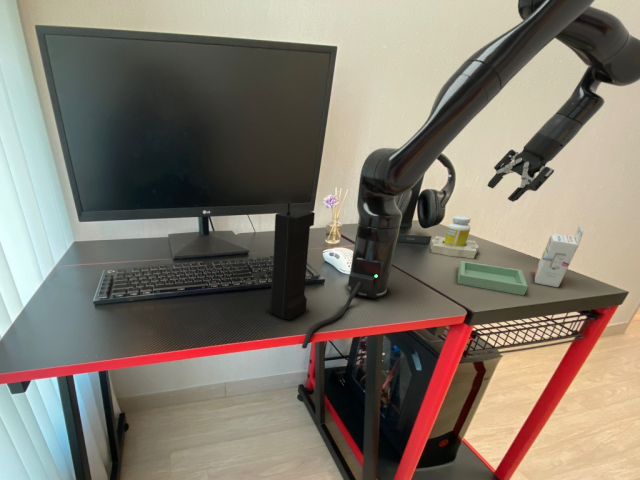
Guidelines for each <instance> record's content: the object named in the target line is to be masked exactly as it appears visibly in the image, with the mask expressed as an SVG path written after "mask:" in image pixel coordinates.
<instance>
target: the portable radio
mask: <svg viewBox="0 0 640 480" xmlns="http://www.w3.org/2000/svg"><path fill="white" fill-rule="evenodd" d="M286 204H287V210H285V211H281V212H277V213H275V215H274V216H275V217H274V238H273V239H274V240H273V241H274V242H273V258H272V259H273V261H272V270H271V283H270V284H271V287H270V298H269V307H268V308H269V313H270V314H272V315H275V316H276V317H279V318H281V319H284V320H288V321H291V320H293V319H294V318H296V317H298V316H299V315H301V314H302V313H304V312H305V311H306V310H307V303H308V302H307V301H308V299H307V297H306V295H305V290H306V289H305V288H306V277H307V265H308V255H309V243H310V242H309V241H310V230H311V227H312V226H314V225H315V215H316V213H315V212H314V211H312V210H308V209H302V208H296V207H295V208H293V209H290V206H291V201H287V202H286Z"/></svg>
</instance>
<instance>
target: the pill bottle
mask: <svg viewBox="0 0 640 480" xmlns="http://www.w3.org/2000/svg"><path fill="white" fill-rule="evenodd" d="M470 222H471V217H468V216H463V215H455V216H453V218H452V223H449V225H448V226H447V230H446V233H445V236H444V237H445V240H444V244H447V245H451V246H459V247H463V246H465V244H466V241H467V240H468V239H469V238H468V237H469V234H470V231H471V226H470V225H469V224H470Z"/></svg>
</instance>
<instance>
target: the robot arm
mask: <svg viewBox="0 0 640 480" xmlns="http://www.w3.org/2000/svg"><path fill="white" fill-rule="evenodd" d="M595 1H596V0H518V1H517V13H518V15H519V18H520V19H521V20H522V21H520V22H519V23H518V24H516V25H515V26H513V27H512V28H510V29H509V30H506V31H505V32H504V33H502V34H501V35H499V36H498V37H496V38H494V39H493V40H491V41H489V42H488V43H486V44H485V45H483V46H482V47H480V48H479V49H478V50H477V51H475V52H474V53H472V54H471V55H470V56H469V57H468V58H466V60H465V61H463V63H462V64H461V65H460V66H459V67H458V68H457V69H456V70H455V71H454V72H453V73H452V74H451V76H450V77H449V78H448V79H447V80H446V82H444V84H443V85H442V86H441V88H439V90H438V92H437V94H436V96H435V99H434V101H433V104H432V106H431V109H430V112H429V115H428V117H427V119H426V120H425V122H424V123H423V125H422V126H421V127H419V129H418V130H417V131H416V132H415V134H413V136H411V137H410V139H408V140H407V141H406V142H405V143H404V144H402V145H401V146H400V147H398V148H396V147H380V148H377V149H374V150H373V151H372V152H371V153H369V154H368V155H367V157H366V158H365V160H364V162H363V164H362V167H361V170H360V176H359V182H358V183H359V184H358V192H357V202H356V208H357V209H356V210H357V214H358V221H357V227H356V233H355V237H354V238H355V239H354V244H353V252H352V259H351V264H350V272H349V275H348V282H347V290H348V291H349V294H350V295H349V297H348V299H347V300H346V303H345V304H344V306H343V307H342V309H340V311H339V312H337V313H336V314H334V315H333V316H331V317H329V318H326V319H324V320H321V321H318V322H316V323H315V324H313V325H312V326H311V327H310V328H309V329H308V330H307V331H306V334H305V336H304V339H303V342H302V345H301V348H302V349H307V348H308V346H309V343H310V340H311V337H312V334H313V332H314V331H316V330H317V329H318V328H320V327H322V326H324V325H328V324H330V323H333V322H335V321H336V320H338V319H340V318H341V317H342V316H344V314H345V313H346V312H347V310H348V308H349V307H350V306H351V303H352V301H353V299H354V298H355V296H359V297H364V298H368V299H373V300H376V299H377V298H380V297H384V296H385V295H386V294H387V290H388V284H389V281H390V280H389V279H390V276H391V275H390V274H391V269H392V265H393V260H394V255H395V252H396V246H397V242H398V238H399V233H400V228H401V224H402V219H403V213H402V211H401V210H400V209H399V207H398V206H397V204H396V203H397V202H396V200H395V197H398V196H402V195H404V194H406V193H407V192H408V191H409V192H410V190H411V189H412V188H414V186H415V185H417V184H418V182H419V181H421V179H422V177H423V176H424V175H425V174H426V173H427V171H428V170H429V169H430V168H431V166H432V165H433V164H434V163H435V162H436V160H437V159H438V158H439V157H440V155H441V154H442V153H443V152H444V151H445V150H446V148H447V147H448V146H449V145H450V144H451V143H452V142H453V141H454V140H455V139H456V138H457V137H458V136H459V134H460V133H461V132H462V131H463V130H464V129H466V127H467V126H468V125H469V124H470V123H471V122H472V121H473V119H475V118H476V117H477V116H478V115H479V114H480V113H481V112H482V111H483V110H484V109H485V108H486V107H487V106H488V105H489V104H490V103H491V101H493V100H494V99H495V98H496V97H497V96H498V95H499V94H500V92H502V90H503V89H504V88H505V87H506V86H507V85H508V84H509V83H510V82H511V80H513V79H514V78H515V77H516V76H517V75H518V73H520V72H521V71H522V70H523V69H524V67H526V66H527V65H528V64H529V63H530V62H531V61H532V60H533V59H534V58H535V57H536V56H537V55H538V54H539V53H540V52H541V51H542V50H543V49H544V48H545V47H546V46H547V45H549V44H550V43H551V42H552V41H554V39H556V40H557V41H559V42H560V43H562V44H563V45H564V46H566V47H567V48H568V49H569V50H571V51H572V52H573V53H574V54H575V55H576V56H577V57H578V58H579V59H580V61H581V62H582V63H583V64H585V65H586V66H587V68H586V70H585V71H584V73H583V75H582V77H581V78H580V80H579V82H578V83H577V85H576V86H575V88H574V90H573V91H572V93H571V95H570V96H569V97H568V98H567V100H566V101H565V102H564V103H563V104H562V105H561V106H560V107H559V108H558V110H557V111H556V112H555V113H554V114H553V115H552V116H551V117H550V118H549V119H548V120H546V122H545V123H544V124H543V125H541V127H539V129H538V130H537V131H536V133H534V135H532V137H530V139H529V140H528V142H527V143H526V144H525V145H524V146H523V149H522V151H521V152H518V151H516V150H515V149H509V151H508V152H507V153H506V154H505V155H504V156H503V157H501V159H500V160H499V161H498V162H497V163H496V164H495V165H494V167H493V169H494V170H495V174H494V175H493V176H492V178H491V179H490V180H489V181H488V183H487V187H488V188H490V189H495V187H496V186H497V185H498V184H499V183H500V182H501V181H502V180H503V178H504V177H505V176H507V175H509V174H513V173H516V174H517V175H519V176H521V177H520V180H521V182H520V186H518V187H516V189H515V190H514V191H513V192H512V193H511V194H510V195H509V196H508V197H507V200H508V201H509V202H512V203H514V202H515V201H518V200H519V199H520V198H521V197H522V196H523V195H525V193H526V192H527V191H533V192H536V191H538V190H539V189H540V188H541V187H542V186H543V185H544V183H545V182H546V181H548V179H549V178H550V177H551V176H552V175H553V174H554V172H555V169H553V168H552V167H549V166H546V165H547V164H548V163H549V162H551V161H552V160H554V158H556V157H557V155H559V153H560V152H561V151H562V150H563V149H564V148H565V147H566V146H567V145H568V144H569V143H570V142H571V141H572V140H573V139H574V138H575V137H576V136H577V135H578V134H579V132H580V131H581V130H582V128H584V126H585V125H586V124H587V123H588V122H589V121H590V120H591V119H592V118H593V117H594V116H595V115H596V114H597V113H598V112H599V111H600V109H601V108H602V107H603V106H604V104H605V98H604V97H603V96H601V95H599V93H597V90H598V88H599V86H600V85H601V83H603V84H606V85H607V84H608V85H611V86H615V87H627V86H630V85H633V84H635V83H637V82H638V81H640V39H639V38H637V37H635V36H633V35H631V34H630V32H629V31H628V28H626V26H625V25H624V23H623V22H622V20H620V18H618V17H617V16H616V15H614V14H613V13H610V12H608V11H606V10H603V9H600V8H597V7H593V6H592V5H593V3H594V2H595ZM537 173H538V174H537Z"/></svg>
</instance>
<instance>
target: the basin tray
mask: <svg viewBox="0 0 640 480" xmlns="http://www.w3.org/2000/svg"><path fill="white" fill-rule="evenodd" d="M523 272H524V271H523V270H522V269H517V268H511V267H504V266H498V265H490V264H484V263H477V262H470V261H465V260H460V263H459V266H458V270H457V284H458V285H464V286H469V287H474V288H480V289H487V290H491V291H498V292H503V293H509V294H514V295H519V296H520V295H521V296H525V294H526V292H527V289H528V288H529V285H528V283H527V280H526V278H525V274H524V273H523Z"/></svg>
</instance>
